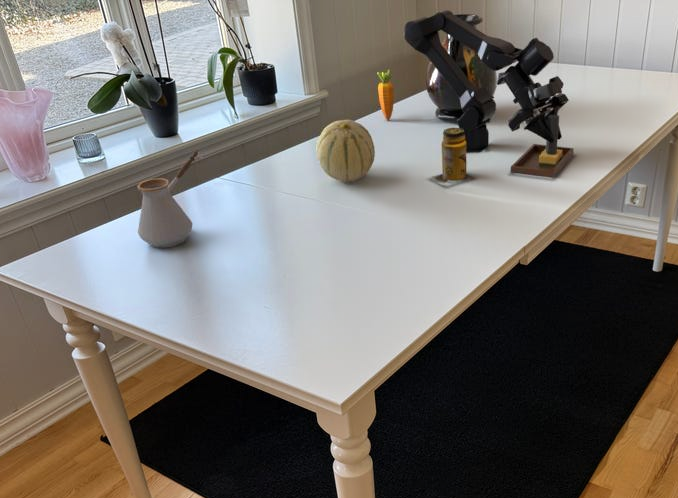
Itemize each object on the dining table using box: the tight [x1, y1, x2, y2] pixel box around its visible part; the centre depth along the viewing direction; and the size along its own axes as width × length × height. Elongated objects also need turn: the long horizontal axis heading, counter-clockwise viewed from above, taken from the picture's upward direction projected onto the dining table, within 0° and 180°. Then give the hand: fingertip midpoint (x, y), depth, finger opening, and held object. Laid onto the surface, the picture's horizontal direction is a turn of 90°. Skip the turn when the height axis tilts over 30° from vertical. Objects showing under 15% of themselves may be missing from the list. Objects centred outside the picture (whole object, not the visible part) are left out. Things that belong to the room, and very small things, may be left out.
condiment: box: [429, 127, 467, 186], centre depth 170 cm, size 7×8×12 cm
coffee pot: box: [136, 150, 204, 249], centre depth 151 cm, size 21×12×15 cm, turn 155°
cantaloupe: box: [316, 119, 376, 183], centre depth 172 cm, size 15×15×15 cm
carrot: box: [376, 69, 395, 122], centre depth 211 cm, size 5×5×15 cm
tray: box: [510, 143, 575, 179], centre depth 177 cm, size 18×11×2 cm, turn 154°
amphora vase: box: [425, 13, 498, 124], centre depth 207 cm, size 22×22×28 cm
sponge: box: [539, 114, 562, 167], centre depth 174 cm, size 6×4×12 cm
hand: (556, 140), depth 174 cm, fingers closed on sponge, 3 cm apart
